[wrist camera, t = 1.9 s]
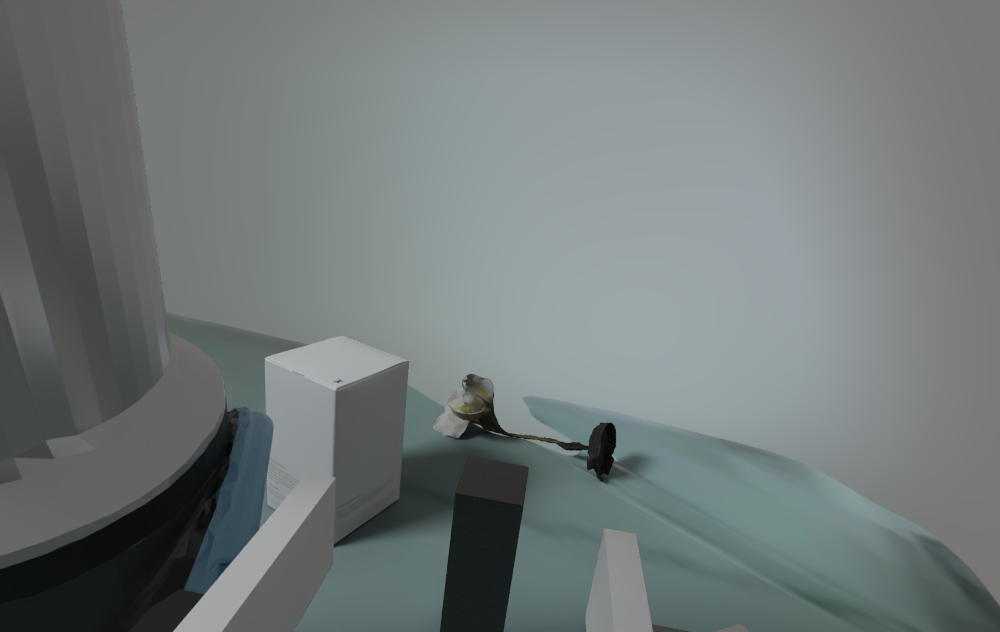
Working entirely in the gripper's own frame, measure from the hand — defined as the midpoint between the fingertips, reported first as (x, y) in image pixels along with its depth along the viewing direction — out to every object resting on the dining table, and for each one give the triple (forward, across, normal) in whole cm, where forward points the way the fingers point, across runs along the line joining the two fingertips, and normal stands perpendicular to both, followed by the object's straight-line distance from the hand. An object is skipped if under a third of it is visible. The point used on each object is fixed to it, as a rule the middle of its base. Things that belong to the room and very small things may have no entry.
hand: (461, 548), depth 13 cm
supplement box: (+30, -16, -24) cm, 42 cm away
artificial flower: (+45, 0, -24) cm, 52 cm away
